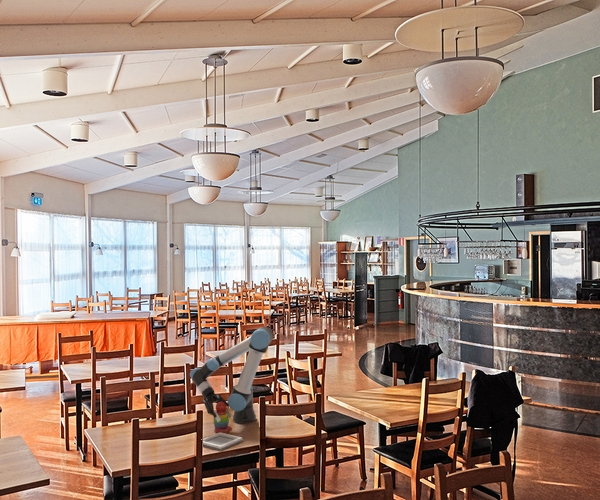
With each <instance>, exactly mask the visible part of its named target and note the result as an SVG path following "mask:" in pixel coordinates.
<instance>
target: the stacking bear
mask: <svg viewBox="0 0 600 500" xmlns="http://www.w3.org/2000/svg"><path fill="white" fill-rule="evenodd" d="M227 408H228V409H229V406H227V405H226V404H225V403H224V402H222V401H220V402H218V403H215V411H216V413H217V414H218V416H219V417H220V419H221V421H220V422H219V423H218V422H217V420H216V419H215V418H214V417H213V425H214V429H213V431H214V432H215V434H217V433H225V434H228V433H229V431H231V430H232V426H231V425H229V424H230V423H229V419H230V418H229V417H228V414H227V411H226V410H227Z"/></svg>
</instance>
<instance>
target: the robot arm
mask: <svg viewBox="0 0 600 500" xmlns="http://www.w3.org/2000/svg"><path fill="white" fill-rule="evenodd" d="M273 339H274V332H273V331H272V329H271V328H270V327H268V326H261V327H259V328H258V329H256V330H254V331H253V333H251V334H250V336H249V337H247V338H246V339H244V340H242V341H240V342H239V343H237V344H234V346H232V347H230V348H228V349H227V350H225V351H223V352H222V353H219V354H218V355H217V356H214V357H211V358H210V359H209V360H207V361H206V362H205V363H204V364H203V365H202V366H201V367H200V368H199V367H195V368H194V369H192V370H191V371H190V373H189V376H190V378H191V381H192V382H193V383H194V385H195V387H197V390H199V392H200V394H201V395H202V398H204V399H202V403H203V404H204V406H205V409H206V411H207V414H208V415H212V416H213V419H214V418H215V419H216V420H217V422H218V423H219V422H220V421H221V419H220V417H219V416H218V414H217V413H216V410H215V408H214V404H217V403H218V402H220V401H222V402H224V403H225V404H226V405H227V406H228V408H227V410H226V411H227V414H228V417H229V419H231V418H232V421H233V422H234V423H237V424H249V423H252V422H256V421H257V415H256V413H255V410H254V395H253V393H254V392H253V391H254V390H253V389H254V387H253V382H254V379H255V376H256V373H257V371H258V369H259V366H260V362H261V360H262V358H263V355H264V354H266V353H267V351H268V348H269V346H270V344H271V342H272V341H273ZM247 352H248V355H247V356H246V359H245V362H244V365H243V367H242V370H241V373H240V376H239V379H238V381H237V383H236V384H235V385H234V386H233V388H232V391H231V393H230V395H229V396H228V399H227V400H225V398H224V397H222V395H221V393H218V394H216V393H215V390H214V388H213V387H212V385H211V384H210V382H209V381H208V378H209V377H210V376H211V375H212V374H213V373H215V372H216V371H217V370H219V369H220V368H222V367H223V366H225V365H227V364H229V363H230V362H232V361H234V360H236V359H237V358H239V357H241V356H243V355H244V354H246V353H247ZM231 411H234V412H233V413H231Z"/></svg>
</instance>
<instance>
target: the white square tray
mask: <svg viewBox="0 0 600 500" xmlns="http://www.w3.org/2000/svg"><path fill="white" fill-rule="evenodd" d="M202 439H203V446H202V447H205V448H209V449H212V450H217V451H223V450H226V449H229V448H230V447H232V446H235V445H238V444H239V443H242V442H243V437H242V436H241V437H240V436H237V435H232V434H228V433H215V434H213V435H212V434H211V435H210V436H207V437H204V438H202Z"/></svg>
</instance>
